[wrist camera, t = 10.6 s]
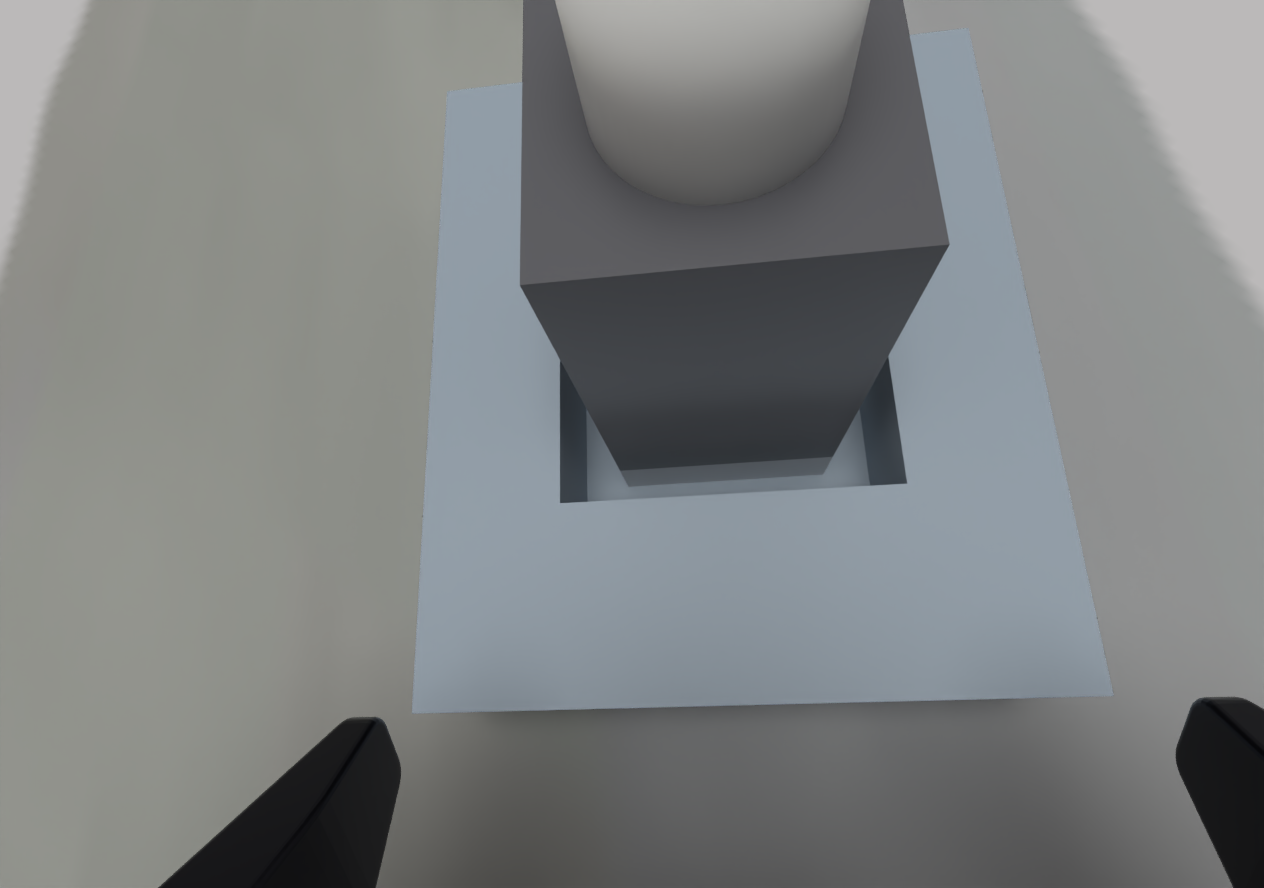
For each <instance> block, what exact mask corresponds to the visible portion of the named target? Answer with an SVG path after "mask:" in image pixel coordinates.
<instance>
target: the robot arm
mask: <svg viewBox="0 0 1264 888" xmlns="http://www.w3.org/2000/svg"><path fill="white" fill-rule="evenodd" d="M1176 763H1177V767H1178V770H1179V773H1180V775H1181V778H1182V780H1183V782H1184V784H1185V786H1186V788H1187V790H1188V793H1189V795H1190V797H1191V799H1192V801H1193V803H1194V805H1195V807H1196V809H1197V812H1198V814H1199V816H1200V818H1201V820H1202V822H1203V824H1204V826H1205V829H1206V831H1207V833H1208V835H1209V837H1210V839H1211V841H1212V843H1213V846H1214V848H1215V850H1216V852H1217V854H1218V856H1219V858H1220V860H1221V862H1222V865H1223V867H1224V869H1225V871H1226V873H1227V875H1228V877H1229V879H1230V882H1231V884H1232V886H1233V888H1264V709H1262V708H1261V707H1259V706H1257V705H1256V704H1254V703H1252V702H1250V701H1248V700H1246V699H1243V698H1239V697H1204V698H1199V699H1198V700H1196V701H1195V702H1194V703H1193V704H1192V706H1191V708H1190V711H1189V714H1188V716H1187V719H1186V722H1185V725H1184V728H1183V730H1182V733H1181V736H1180V739H1179V741H1178V744H1177V748H1176ZM400 779H401V767H400V761H399V758H398V756H397V753H396V750H395V748H394V745H393V742H392V740H391V737H390V735H389V732H388V729H387V727H386V724H385V722H384V721H383V720H382V719H380V718H378V717H354V718H349V719H346V720H345V721H343V722H342V723H340V724H339V725H338V726H337V727H336V728H335V729H333V730H332V731H331V732H330V733H329V734H328V735H327V736H326V737H325V738H324V739H322V740H321V741H320V742H319V743H318V744H317V745H316V746H315V747H314V748H312V749H311V750H310V751H309V752H308V753H307V754H306V755H305V756H304V757H302V758H301V759H300V760H299V761H298V762H297V763H296V764H295V765H294V766H293V767H291V768H290V769H289V770H288V771H287V772H286V773H285V774H284V775H283V776H281V777H280V778H279V779H278V780H277V781H276V782H275V783H274V784H273V785H271V786H270V787H269V788H268V789H267V790H266V791H265V792H264V793H263V794H262V795H260V796H259V797H258V798H257V799H256V800H255V801H254V802H253V803H252V804H250V805H249V806H248V807H247V808H246V809H245V810H244V811H243V812H242V813H240V814H239V815H238V816H237V817H236V818H235V819H234V820H233V821H232V822H230V823H229V824H228V825H227V826H226V827H225V828H224V829H223V830H222V831H221V832H219V833H218V834H217V835H216V836H215V837H214V838H213V839H212V840H211V841H209V842H208V843H207V844H206V845H205V846H204V847H203V848H202V849H201V850H199V851H198V852H197V853H196V854H195V855H194V856H193V857H192V858H191V859H190V860H188V861H187V862H186V863H185V864H184V865H183V866H182V867H181V868H180V869H178V870H177V871H176V872H175V873H174V874H173V875H172V876H171V877H170V878H168V879H167V880H166V881H165V882H164V883H163V884H162V885H161V886H160V887H158V888H376V884H377V880H378V876H379V871H380V867H381V863H382V859H383V854H384V850H385V846H386V841H387V837H388V833H389V828H390V824H391V820H392V815H393V811H394V807H395V802H396V798H397V794H398V790H399V785H400Z"/></svg>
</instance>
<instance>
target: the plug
mask: <svg viewBox="0 0 1264 888" xmlns="http://www.w3.org/2000/svg"><path fill="white" fill-rule="evenodd" d="M949 245H950V243H949V238H948V233H947V228H946V222H945V217H944V212H943V207H942V202H941V196H940V191H939V186H938V181H937V176H936V170H935V165H934V160H933V155H932V149H931V144H930V139H929V134H928V129H927V123H926V118H925V113H924V108H923V103H922V97H921V92H920V87H919V82H918V77H917V71H916V66H915V61H914V56H913V51H912V45H911V40H910V35H909V30H908V24H907V19H906V14H905V9H904V4H903V0H523V70H522V147H521V225H520V287H521V288H522V290H523V292H524V294H525V296H526V298H527V300H528V301H529V303H530V305H531V307H532V309H533V311H534V312H535V314H536V316H537V318H538V320H539V322H540V324H541V325H542V327H543V329H544V331H545V333H546V335H547V337H548V338H549V340H550V342H551V344H552V346H553V348H554V349H555V351H556V353H557V355H558V357H559V359H560V361H561V362H562V364H563V366H564V368H565V370H566V372H567V374H568V375H569V377H570V379H571V381H572V383H573V385H574V386H575V388H576V390H577V392H578V394H579V396H580V398H581V399H582V401H583V403H584V405H585V407H586V409H587V410H588V412H589V414H590V416H591V418H592V420H593V422H594V423H595V425H596V427H597V429H598V431H599V433H600V435H601V436H602V438H603V440H604V442H605V444H606V446H607V447H608V449H609V451H610V453H611V455H612V457H613V459H614V460H615V462H616V464H617V466H618V468H619V470H620V471H621V473H622V475H623V477H624V479H625V481H626V483H627V484H628V486H629V487H634V486H650V485H665V484H681V483H697V482H713V481H729V480H745V479H760V478H776V477H792V476H808V475H823V474H824V472H825V470H826V468H827V467H828V465H829V463H830V461H831V459H832V457H833V456H834V454H835V452H836V450H837V448H838V447H839V445H840V443H841V441H842V439H843V437H844V436H845V434H846V432H847V430H848V428H849V427H850V425H851V423H852V421H853V419H854V417H855V416H856V414H857V412H858V410H859V408H860V407H861V405H862V403H863V401H864V399H865V397H866V396H867V394H868V392H869V390H870V388H871V387H872V385H873V383H874V381H875V379H876V378H877V376H878V374H879V372H880V370H881V368H882V367H883V365H884V363H885V361H886V359H887V358H888V356H889V354H890V352H891V350H892V348H893V347H894V345H895V343H896V341H897V339H898V338H899V336H900V334H901V332H902V330H903V328H904V327H905V325H906V323H907V321H908V319H909V318H910V316H911V314H912V312H913V310H914V308H915V307H916V305H917V303H918V301H919V299H920V298H921V296H922V294H923V292H924V290H925V288H926V287H927V285H928V283H929V281H930V279H931V278H932V276H933V274H934V272H935V270H936V268H937V267H938V265H939V263H940V261H941V259H942V258H943V256H944V254H945V252H946V250H947V248H948V247H949Z"/></svg>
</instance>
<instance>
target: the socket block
mask: <svg viewBox="0 0 1264 888" xmlns="http://www.w3.org/2000/svg"><path fill="white" fill-rule="evenodd" d="M910 40H911V45H912V51H913V56H914V61H915V66H916V71H917V77H918V82H919V87H920V92H921V97H922V103H923V108H924V113H925V118H926V123H927V129H928V134H929V139H930V144H931V149H932V155H933V160H934V165H935V170H936V176H937V181H938V186H939V191H940V196H941V202H942V207H943V212H944V217H945V222H946V228H947V233H948V238H949V243H950V245H949V247H948V248H947V250H946V252H945V254H944V256H943V258H942V259H941V261H940V263H939V265H938V267H937V268H936V270H935V272H934V274H933V276H932V278H931V279H930V281H929V283H928V285H927V287H926V288H925V290H924V292H923V294H922V296H921V298H920V299H919V301H918V303H917V305H916V307H915V308H914V310H913V312H912V314H911V316H910V318H909V319H908V321H907V323H906V325H905V327H904V328H903V330H902V332H901V334H900V336H899V338H898V339H897V341H896V343H895V345H894V347H893V348H892V350H891V352H890V354H889V356H888V358H887V359H886V361H885V363H884V365H883V367H882V368H881V370H880V372H879V374H878V376H877V378H876V379H875V381H874V383H873V385H872V387H871V388H870V390H869V392H868V394H867V396H866V397H865V399H864V401H863V403H862V405H861V407H860V408H859V410H858V412H857V414H856V416H855V417H854V419H853V421H852V423H851V425H850V427H849V428H848V430H847V432H846V434H845V436H844V437H843V439H842V441H841V443H840V445H839V447H838V448H837V450H836V452H835V454H834V456H833V457H832V459H831V461H830V463H829V465H828V467H827V468H826V470H825V472H824V474H823V475H808V476H792V477H776V478H760V479H745V480H729V481H713V482H697V483H681V484H665V485H650V486H634V487H629V486H628V484H627V483H626V481H625V479H624V477H623V475H622V473H621V471H620V470H619V468H618V466H617V464H616V462H615V460H614V459H613V457H612V455H611V453H610V451H609V449H608V447H607V446H606V444H605V442H604V440H603V438H602V436H601V435H600V433H599V431H598V429H597V427H596V425H595V423H594V422H593V420H592V418H591V416H590V414H589V412H588V410H587V409H586V407H585V405H584V403H583V401H582V399H581V398H580V396H579V394H578V392H577V390H576V388H575V386H574V385H573V383H572V381H571V379H570V377H569V375H568V374H567V372H566V370H565V368H564V366H563V364H562V362H561V361H560V359H559V357H558V355H557V353H556V351H555V349H554V348H553V346H552V344H551V342H550V340H549V338H548V337H547V335H546V333H545V331H544V329H543V327H542V325H541V324H540V322H539V320H538V318H537V316H536V314H535V312H534V311H533V309H532V307H531V305H530V303H529V301H528V300H527V298H526V296H525V294H524V292H523V290H522V288H521V287H520V225H521V147H522V82H520V83H512V84H504V85H495V86H487V87H479V88H471V89H462V90H454V91H447V105H446V122H445V140H444V157H443V175H442V193H441V210H440V228H439V245H438V263H437V280H436V298H435V315H434V333H433V351H432V368H431V386H430V403H429V421H428V438H427V456H426V474H425V491H424V509H423V526H422V544H421V561H420V579H419V597H418V614H417V632H416V649H415V667H414V684H413V702H412V714H416V713H456V712H496V711H536V710H576V709H616V708H655V707H695V706H735V705H775V704H815V703H855V702H895V701H935V700H975V699H1014V698H1054V697H1094V696H1114V695H1113V690H1112V685H1111V681H1110V676H1109V672H1108V667H1107V662H1106V658H1105V653H1104V649H1103V644H1102V639H1101V635H1100V630H1099V626H1098V621H1097V617H1096V612H1095V607H1094V603H1093V598H1092V594H1091V589H1090V584H1089V580H1088V575H1087V571H1086V566H1085V561H1084V557H1083V552H1082V548H1081V543H1080V538H1079V534H1078V529H1077V525H1076V520H1075V515H1074V511H1073V506H1072V502H1071V497H1070V492H1069V488H1068V483H1067V479H1066V474H1065V470H1064V465H1063V460H1062V456H1061V451H1060V447H1059V442H1058V437H1057V433H1056V428H1055V424H1054V419H1053V414H1052V410H1051V405H1050V401H1049V396H1048V391H1047V387H1046V382H1045V378H1044V373H1043V368H1042V364H1041V359H1040V355H1039V350H1038V346H1037V341H1036V336H1035V332H1034V327H1033V323H1032V318H1031V313H1030V309H1029V304H1028V300H1027V295H1026V290H1025V286H1024V281H1023V277H1022V272H1021V267H1020V263H1019V258H1018V254H1017V249H1016V244H1015V240H1014V235H1013V231H1012V226H1011V221H1010V217H1009V212H1008V208H1007V203H1006V199H1005V194H1004V189H1003V185H1002V180H1001V176H1000V171H999V166H998V162H997V157H996V153H995V148H994V143H993V139H992V134H991V130H990V125H989V120H988V116H987V111H986V107H985V102H984V97H983V93H982V88H981V84H980V79H979V74H978V70H977V65H976V61H975V56H974V52H973V47H972V42H971V38H970V33H969V29H968V28H963V29H955V30H947V31H938V32H930V33H922V34H914V35H910Z"/></svg>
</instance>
